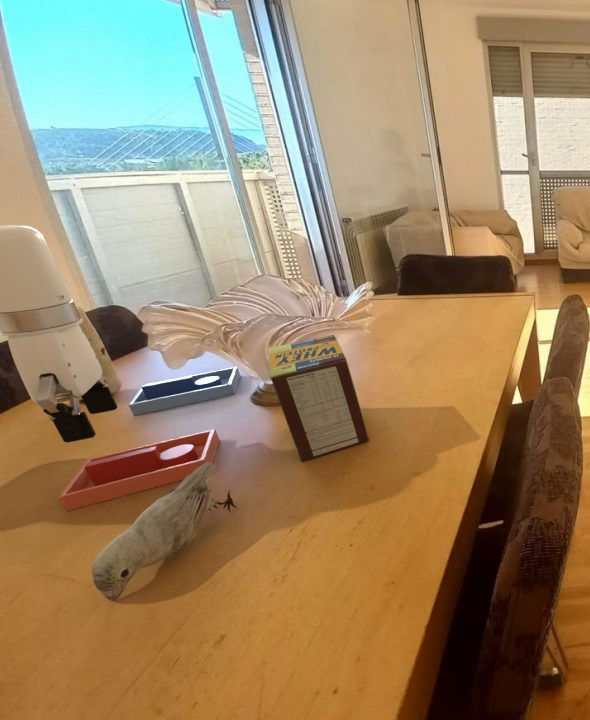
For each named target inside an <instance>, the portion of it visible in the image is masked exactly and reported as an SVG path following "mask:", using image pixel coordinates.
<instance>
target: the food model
mask: <svg viewBox="0 0 590 720" xmlns="http://www.w3.org/2000/svg"><path fill="white" fill-rule="evenodd" d="M76 308H77V310H78V312H79V314H80V316H81V318H82V320H83V322H82V323H81V324H79V326H80V328H81V330H82V331H83V333H84V335H85V336H86V338H87V340H88V342H89V343H90V345H91V347H92V349H93V351H94V353H95V355H96V357H97V359H98V361H99V364H100V366H101V369H102V372H103V373H102V377H103V378H104V379H105V380H106V381H107V386H108V387H109V389H110V391H111V394H113V393H115V392H118V391H120V390H121V388H122V386H123V384H122V381H121V380H120V378H119V376H118V374H117V370H116V368H115V366H114V363H113V361H112V359H111V357H110V356H109V353H108V352H107V349H106V348H105V347H106V346H105V345H104V343H103V341H102V339H101V337H100V335H99V334H98V332H97V330H96V328H95V327H94V325H93V324H92V322H91V320H90V319H89V317H88V316H87V315H88V314H86V312H85V309H83V308H82V307H81V306H76ZM107 386H103V387H107ZM64 394H70V393H64ZM64 394H61V395H64ZM79 401H83V399H82V397H79Z"/></svg>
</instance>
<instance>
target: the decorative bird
mask: <svg viewBox="0 0 590 720" xmlns="http://www.w3.org/2000/svg"><path fill="white" fill-rule="evenodd" d="M210 464H211V463H210V462H207V463H204V464H203V465H201V466H200V467H198V468H196V469H195V470H194V472H193V473H192V474H190V475H188V476H187V477H186V478H185V479H183V480H181V483H179V484H178V485H177V486H175V487H174V488H172V489H171V490H169V491H167V492H166V493H164V494H163V495H162V496H160V497H158V499H156V500H155V501H154V502H153V503H152V504H151V505H149V506H148V507H147V508H146V509H145V510H143V511H142V512H141V513H140V515H139V516H138V517H137V518H136V519H135V521H134V522H133V523H132V525H131V526H129V527H128V528H127V529H126V530H125V531H124V532H122V533H120V534H119V535H117V536H116V537H114V538H113V539H112V540H111V541H110V542H109V543H107V545H105V546H104V547H103V548H102V550H100V552H99V553H98V554H97V555H96V556H95V559H94V561H93V564H92V569H91V570H92V571H91V574H92V575H91V577H92V581H93V584H94V586H95V588H96V589H97V591H99V592H100V594H101V595H102V596H103V597H104V598H105V599H107V600H109V601H110V602H113V603H115V602H116V601H117V600H118V599H119V597H120V596H121V594H122V593H123V592H124V590H125V589H126V588H127V586H128V584H129V582H130V580H132V579H133V577H134V576H135V575H136V574H137V573H138V572H140V570H141V569H144V568H148V567H151V566H154V565H156V564H157V563H159V562H161V561H162V560H164V559H165V558H168V557H169V556H171V555H172V554H175V553H176V552H178V551H179V550H180V549H182V548H183V547H185V545H187V543H189V541H190V540H191V538H192V537H193V536H194V534H195V533H196V531H197V529H198V528H199V526H200V525H201V523H202V522H203V520H205V518H206V516H207V515H208V512H209V511H210V512H212V509H211V508H213V507H214V508H216V509H219V507H218V506H216V505H220V506H221V505H223V507H222V508H223V510H225V508H226V507H227V510H228V511H229V512H231V507H233V508H235V509H238V507H237V506H236V505H235V504H234V501H233V498H232V497H231V494H230V492H231V489H229V490H228V492H227V494H226V495H227V497H226V500H225V501H223V502H221V501H217V500H214V498H213V496H212V493H211V491H212V490H211V489H210V488H209V486H208V482H207V479H208V478H209V476H211V474H212V473H213V471H214V470H216V468H217V466H216V465H214V464H212V465H210Z"/></svg>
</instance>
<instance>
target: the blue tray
mask: <svg viewBox="0 0 590 720" xmlns="http://www.w3.org/2000/svg"><path fill="white" fill-rule="evenodd" d="M211 376H218V377H219V378H220V380H221V383H222V385H220V386H215V387H210V388H205V389H200V390H195V391H191V392H186V393H181V394H176V395H171V396H166V397H161V398H156V399H151V400H147V398H146V396H145V394H144V392H143V390H142V388H140V389H139V390H138V392H137V393H136V394H135V396H134V397H133V399H131V401H130V402H129V404H128V408H129V409H130V412H131V413H132V416H140V415H144V414H148V413H154V412H157V411H163V410H168V409H172V408H177V407H181V406H185V405H190V404H195V403H200V402H204V401H209V400H213V399H219V398H224V397H228V396H233V395H235V394H236V391H237V389H238V386H239V383H240V380H241V377H242V376H241V373H240V371H239V368H238V366H235V367H229V368H224V369H218V370H213V371H208V372H203V373H197V374H193V377H194V380H195V381H197V380H199V379H202V378H206V377H211Z"/></svg>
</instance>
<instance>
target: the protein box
mask: <svg viewBox="0 0 590 720" xmlns="http://www.w3.org/2000/svg"><path fill="white" fill-rule="evenodd" d="M267 355H268V367H269V376H270V381H271V383H272V385H273V388H274V391H275V393H276V396H277V398H278V402H279V404H280V408H281V410H282V413H283V416H284V419H285V421H286V424H287V427H288V429H289V432H290V435H291V438H292V440H293V443H294V446H295V448H296V451H297V454H298V456H299V460H300V462H306V461H309V460H312V459H315V458H318V457H322V456H324V455H328V454H331V453H334V452H337V451H340V450H345V449H347V448H349V447H353V446H357V445H359V444H362V443H365V442H369V441H370V437H369V433H368V429H367V426H366V422H365V419H364V415H363V411H362V407H361V405H360V401H359V397H358V395H357V391H356V386H355V384H354V380H353V377H352V374H351V370H350V366H349V363H348V360H347V357H346V355H345V353H344V351H343V349H342V347H341V345H340V343H339V341H338V339H337V337H336V336H335V334H331V335H327V336H326V335H325V336H323V337H317V338H313V339H307V340H302V341H297V342H293V343H287V344H282V345H276V346H272V347H268V348H267Z"/></svg>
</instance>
